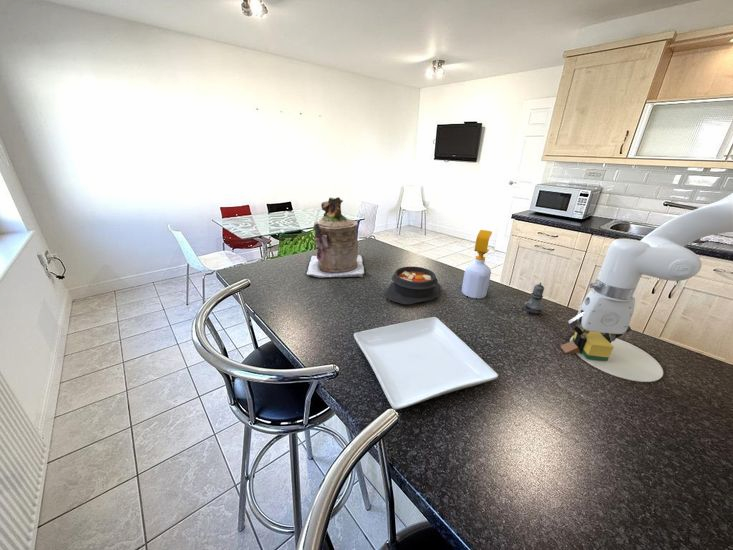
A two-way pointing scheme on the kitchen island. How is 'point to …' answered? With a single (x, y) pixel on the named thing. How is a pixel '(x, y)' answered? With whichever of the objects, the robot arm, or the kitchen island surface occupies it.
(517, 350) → the kitchen island surface
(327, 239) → the cookie jar
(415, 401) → the square plate
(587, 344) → the sponge
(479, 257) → the soap bottle
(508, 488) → the kitchen island surface
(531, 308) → the grey chess piece
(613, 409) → the kitchen island surface
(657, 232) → the robot arm
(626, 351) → the plate
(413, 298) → the casserole
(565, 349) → the block
